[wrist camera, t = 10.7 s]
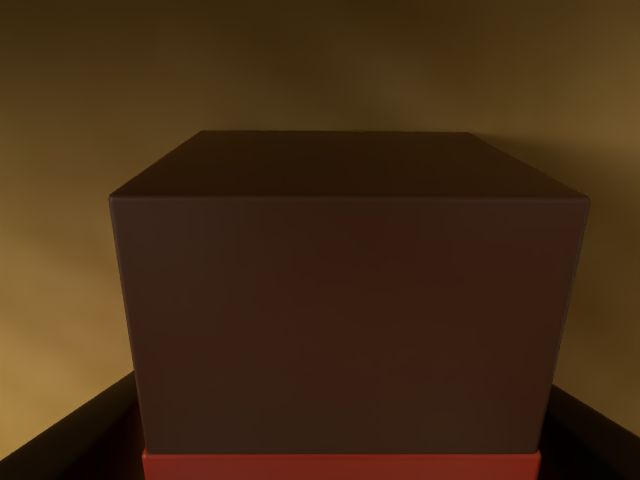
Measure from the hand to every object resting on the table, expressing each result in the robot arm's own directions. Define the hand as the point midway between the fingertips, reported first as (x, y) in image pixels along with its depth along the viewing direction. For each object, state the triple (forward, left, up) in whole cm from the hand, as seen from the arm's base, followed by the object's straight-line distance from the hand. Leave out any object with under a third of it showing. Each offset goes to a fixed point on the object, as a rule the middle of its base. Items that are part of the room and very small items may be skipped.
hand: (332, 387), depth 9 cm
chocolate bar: (0, 0, -1) cm, 1 cm away
